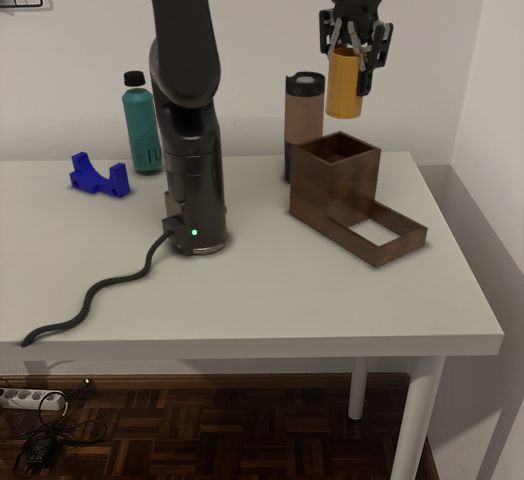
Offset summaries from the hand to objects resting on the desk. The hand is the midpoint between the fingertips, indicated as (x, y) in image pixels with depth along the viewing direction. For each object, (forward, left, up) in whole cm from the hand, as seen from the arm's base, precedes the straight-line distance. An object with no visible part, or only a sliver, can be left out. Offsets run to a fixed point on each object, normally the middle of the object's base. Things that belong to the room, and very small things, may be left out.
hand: (348, 90), depth 89 cm
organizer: (0, -4, -23) cm, 23 cm away
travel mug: (+6, +18, -23) cm, 30 cm away
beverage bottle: (-18, +41, -23) cm, 50 cm away
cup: (-1, 0, -3) cm, 4 cm away
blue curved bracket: (-30, +39, -23) cm, 54 cm away
